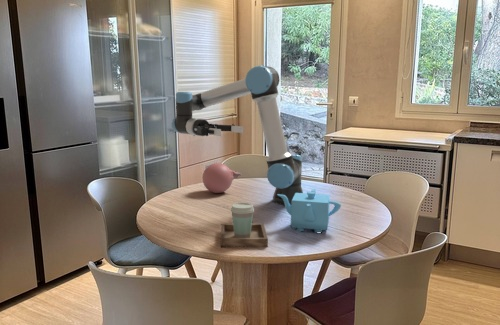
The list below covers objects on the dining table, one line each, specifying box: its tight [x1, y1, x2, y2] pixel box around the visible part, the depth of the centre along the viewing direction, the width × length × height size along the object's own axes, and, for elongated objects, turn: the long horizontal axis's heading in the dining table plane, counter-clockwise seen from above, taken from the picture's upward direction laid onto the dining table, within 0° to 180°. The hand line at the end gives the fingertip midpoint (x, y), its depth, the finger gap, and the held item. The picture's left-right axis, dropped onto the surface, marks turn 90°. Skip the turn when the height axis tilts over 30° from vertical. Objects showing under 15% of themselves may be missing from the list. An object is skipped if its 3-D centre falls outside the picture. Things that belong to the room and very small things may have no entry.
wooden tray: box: [220, 222, 269, 248], centre depth 161 cm, size 16×16×3 cm
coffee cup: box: [230, 202, 255, 238], centre depth 160 cm, size 8×8×12 cm
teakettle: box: [277, 188, 342, 233], centre depth 172 cm, size 19×19×15 cm
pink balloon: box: [201, 162, 242, 194], centre depth 224 cm, size 15×20×15 cm
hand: (231, 131), depth 185 cm, fingers open, 13 cm apart
